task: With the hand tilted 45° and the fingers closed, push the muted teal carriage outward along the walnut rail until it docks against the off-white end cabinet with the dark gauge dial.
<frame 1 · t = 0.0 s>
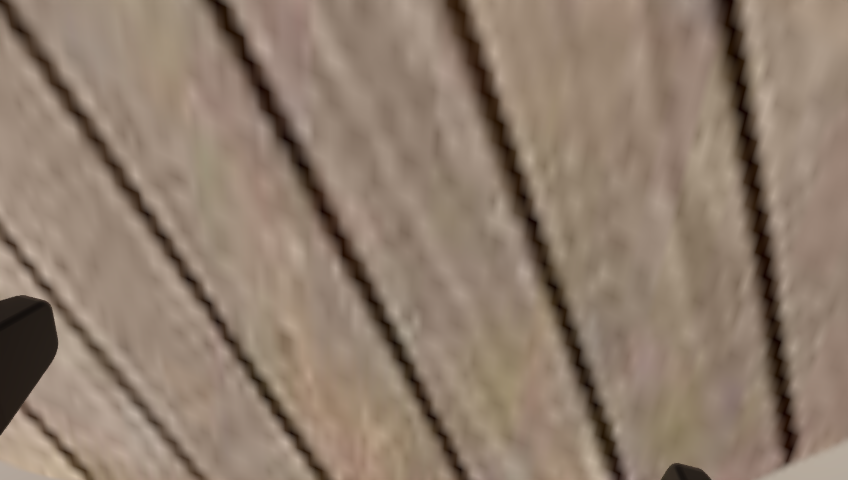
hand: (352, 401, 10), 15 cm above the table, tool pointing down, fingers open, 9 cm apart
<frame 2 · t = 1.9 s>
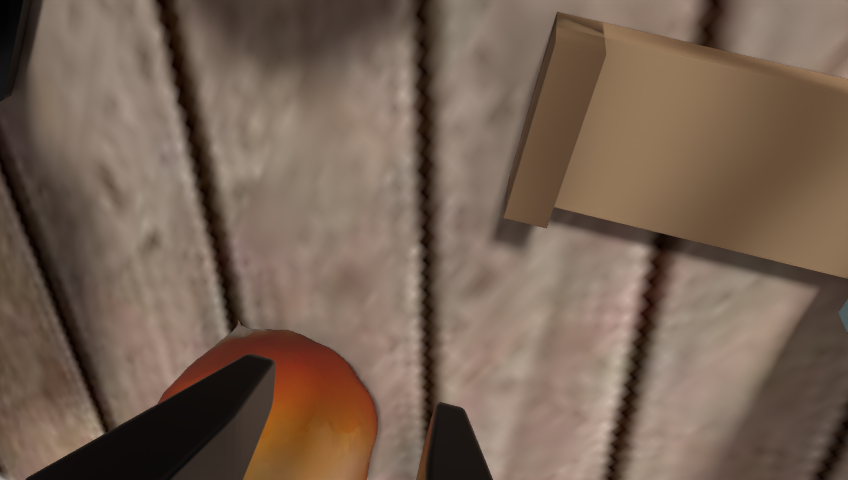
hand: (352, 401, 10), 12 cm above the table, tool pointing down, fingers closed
fruit: (294, 376, 28), on the table
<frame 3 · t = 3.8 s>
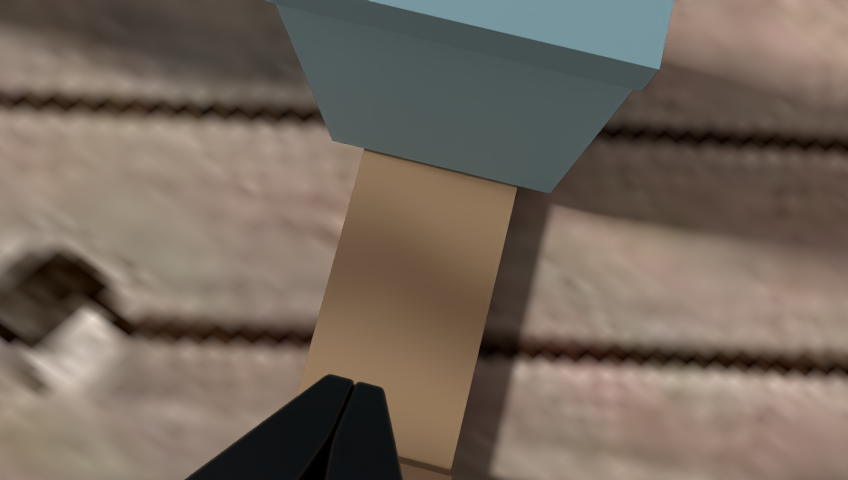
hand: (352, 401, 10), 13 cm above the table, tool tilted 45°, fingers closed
carriage: (478, 2, 17), point 6 cm above the table, slide at 0.0 cm
rail: (453, 123, 24), on the table
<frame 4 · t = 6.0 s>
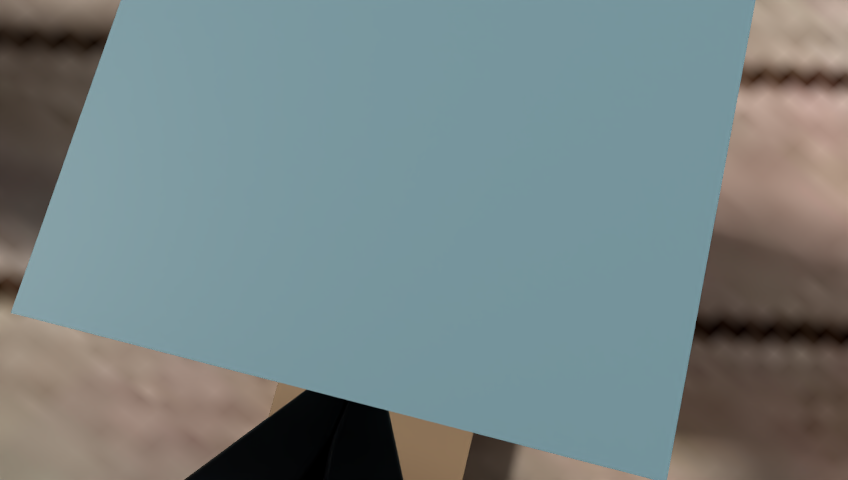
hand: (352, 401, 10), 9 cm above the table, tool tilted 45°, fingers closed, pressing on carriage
carriage: (416, 216, 13), point 6 cm above the table, slide at 0.3 cm, touching gripper
rail: (402, 309, 19), on the table
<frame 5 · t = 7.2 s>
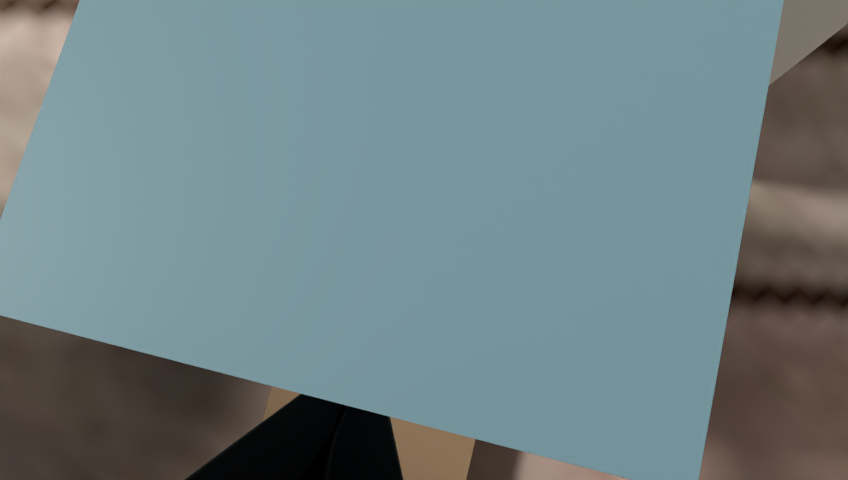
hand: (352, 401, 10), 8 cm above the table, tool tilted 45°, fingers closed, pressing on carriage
carriage: (417, 206, 12), point 6 cm above the table, slide at 6.9 cm, touching gripper
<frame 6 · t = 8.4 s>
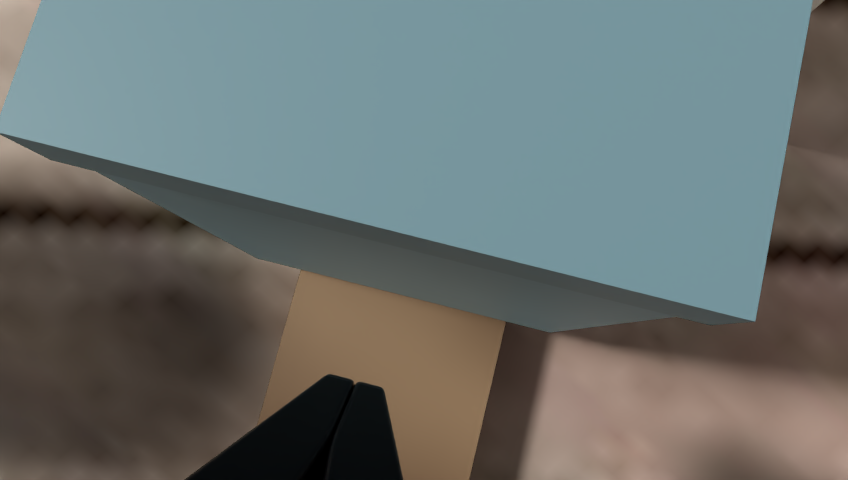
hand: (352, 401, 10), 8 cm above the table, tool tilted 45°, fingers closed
carriage: (443, 101, 12), point 6 cm above the table, slide at 7.7 cm
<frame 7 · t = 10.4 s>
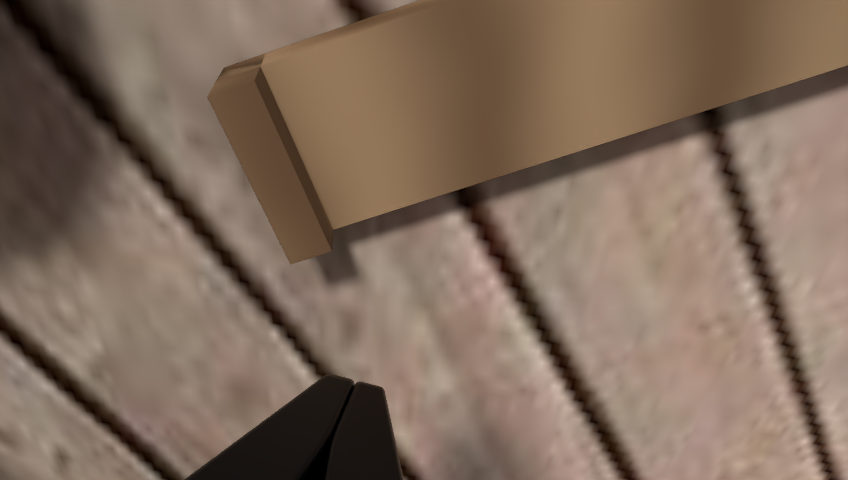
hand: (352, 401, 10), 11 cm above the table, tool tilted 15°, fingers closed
rail: (676, 12, 19), on the table
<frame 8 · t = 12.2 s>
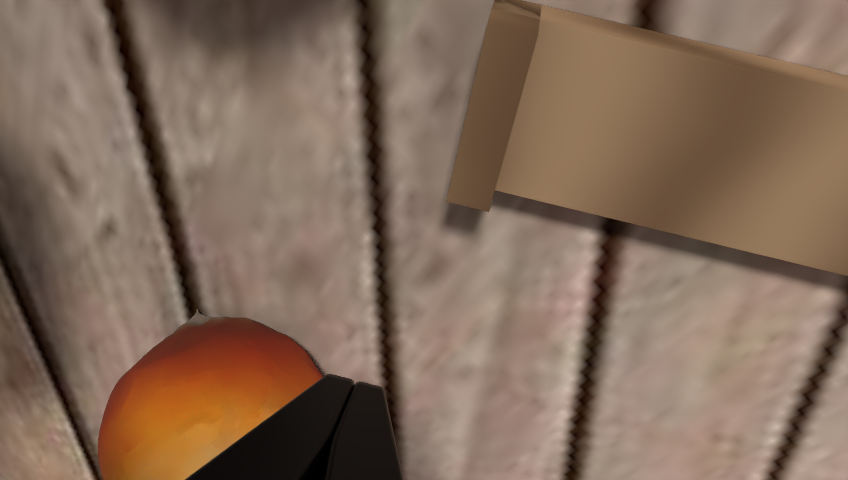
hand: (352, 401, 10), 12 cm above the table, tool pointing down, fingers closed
fruit: (255, 365, 28), on the table
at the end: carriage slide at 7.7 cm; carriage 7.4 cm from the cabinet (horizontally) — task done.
